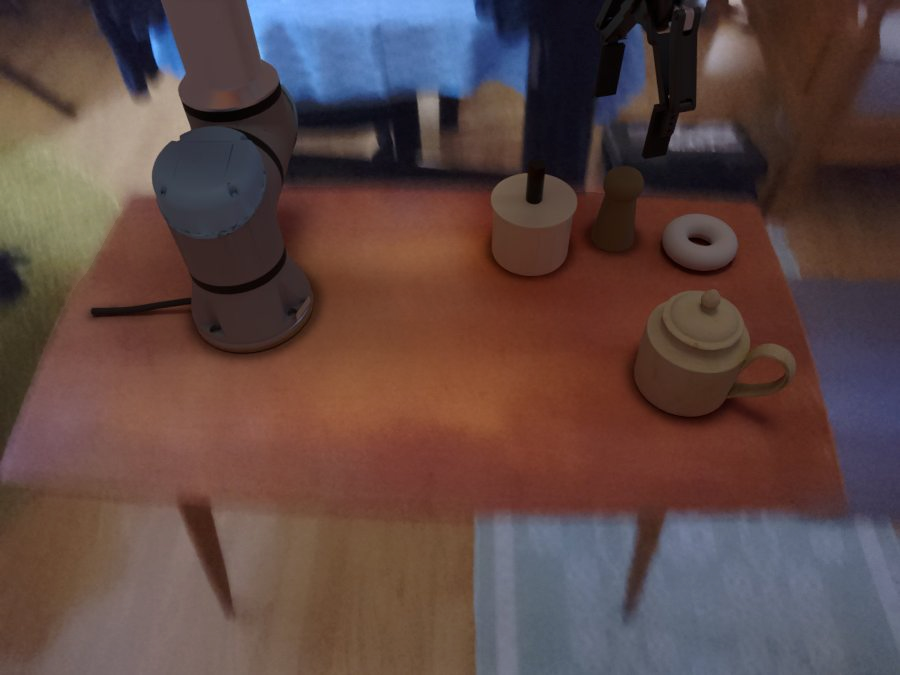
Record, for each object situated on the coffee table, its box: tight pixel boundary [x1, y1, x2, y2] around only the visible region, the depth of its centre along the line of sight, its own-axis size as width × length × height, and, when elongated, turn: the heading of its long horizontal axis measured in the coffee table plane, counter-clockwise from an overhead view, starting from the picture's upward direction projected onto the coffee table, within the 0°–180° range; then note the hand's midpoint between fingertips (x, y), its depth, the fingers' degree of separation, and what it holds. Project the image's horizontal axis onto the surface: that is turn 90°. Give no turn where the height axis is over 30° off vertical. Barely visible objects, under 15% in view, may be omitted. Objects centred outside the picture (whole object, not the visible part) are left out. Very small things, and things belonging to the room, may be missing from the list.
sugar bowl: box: [633, 288, 797, 418], centre depth 74 cm, size 15×11×15 cm
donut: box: [661, 213, 739, 272], centre depth 93 cm, size 10×4×10 cm
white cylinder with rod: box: [490, 157, 578, 230], centre depth 87 cm, size 11×11×7 cm
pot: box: [491, 210, 574, 277], centre depth 92 cm, size 10×10×8 cm
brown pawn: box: [590, 165, 645, 253], centre depth 92 cm, size 6×6×11 cm
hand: (628, 123), depth 83 cm, fingers open, 13 cm apart
